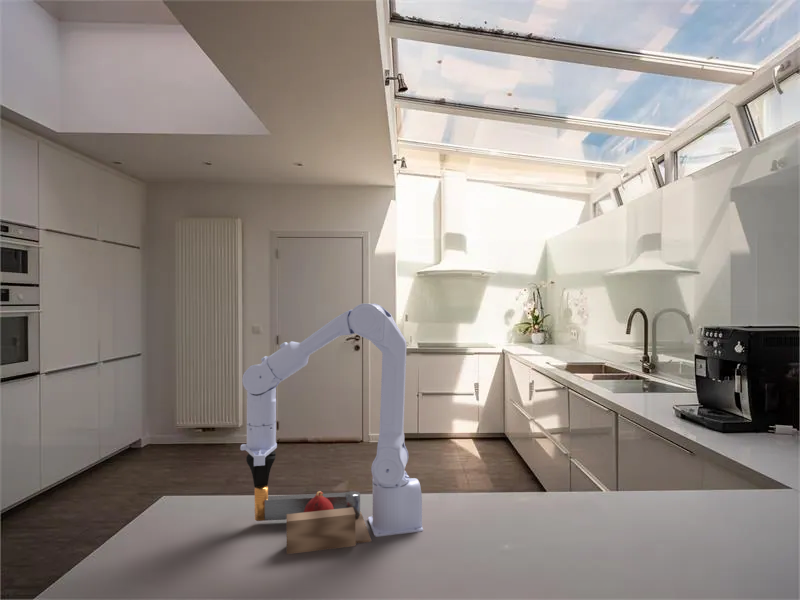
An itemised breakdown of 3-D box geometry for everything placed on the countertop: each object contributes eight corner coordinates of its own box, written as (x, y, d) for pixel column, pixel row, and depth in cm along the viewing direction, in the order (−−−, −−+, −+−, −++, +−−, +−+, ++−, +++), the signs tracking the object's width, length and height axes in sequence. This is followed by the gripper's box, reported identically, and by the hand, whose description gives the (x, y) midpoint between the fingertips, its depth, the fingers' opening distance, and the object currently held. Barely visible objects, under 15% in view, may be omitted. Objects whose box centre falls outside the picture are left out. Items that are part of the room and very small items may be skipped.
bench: (360, 514, 99) (360, 485, 99) (372, 545, 86) (371, 512, 86) (286, 522, 96) (286, 492, 96) (286, 556, 83) (286, 521, 83)
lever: (360, 510, 99) (359, 480, 99) (360, 517, 95) (360, 486, 95) (256, 515, 96) (256, 485, 96) (253, 522, 93) (253, 491, 93)
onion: (328, 543, 87) (327, 499, 87) (298, 540, 88) (298, 496, 88) (338, 528, 93) (338, 487, 93) (310, 526, 94) (310, 485, 94)
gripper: (243, 415, 103) (243, 478, 103) (237, 433, 89) (236, 506, 89) (277, 414, 105) (277, 476, 104) (276, 431, 91) (275, 503, 90)
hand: (261, 490), depth 97 cm, fingers closed
